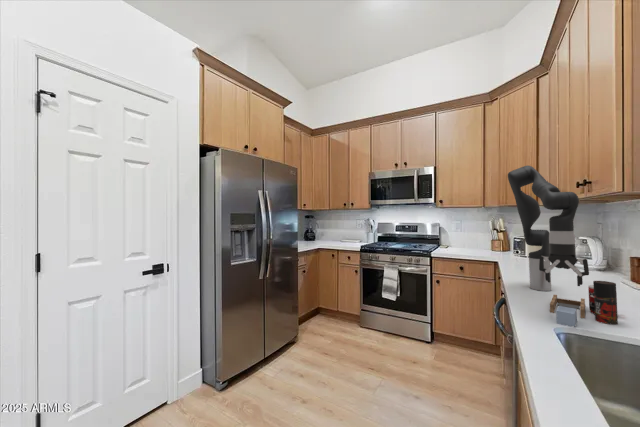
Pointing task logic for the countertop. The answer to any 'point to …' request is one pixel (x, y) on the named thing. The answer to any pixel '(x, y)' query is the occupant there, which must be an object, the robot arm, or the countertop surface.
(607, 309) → the deodorant
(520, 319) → the countertop surface
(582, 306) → the channel
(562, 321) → the block
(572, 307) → the pad
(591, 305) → the canned food
